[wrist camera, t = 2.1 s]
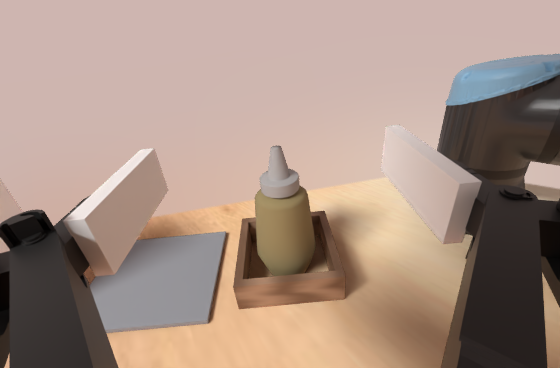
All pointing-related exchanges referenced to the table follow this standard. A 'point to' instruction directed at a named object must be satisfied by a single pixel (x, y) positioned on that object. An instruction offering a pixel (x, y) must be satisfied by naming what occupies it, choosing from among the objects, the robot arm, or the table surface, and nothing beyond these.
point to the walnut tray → (288, 286)
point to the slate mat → (161, 283)
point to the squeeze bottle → (283, 219)
